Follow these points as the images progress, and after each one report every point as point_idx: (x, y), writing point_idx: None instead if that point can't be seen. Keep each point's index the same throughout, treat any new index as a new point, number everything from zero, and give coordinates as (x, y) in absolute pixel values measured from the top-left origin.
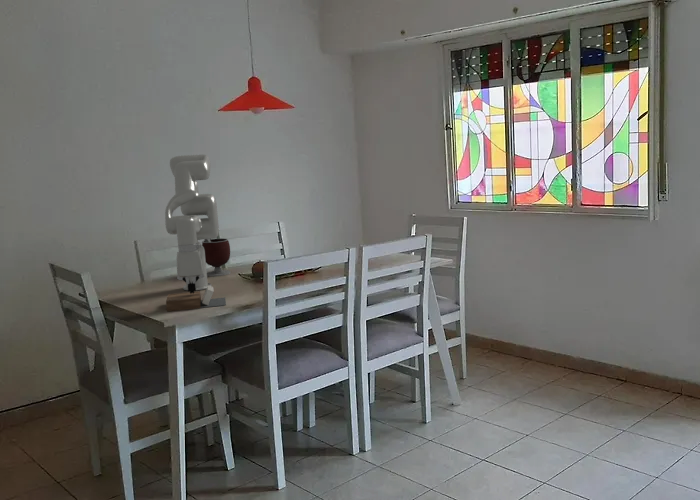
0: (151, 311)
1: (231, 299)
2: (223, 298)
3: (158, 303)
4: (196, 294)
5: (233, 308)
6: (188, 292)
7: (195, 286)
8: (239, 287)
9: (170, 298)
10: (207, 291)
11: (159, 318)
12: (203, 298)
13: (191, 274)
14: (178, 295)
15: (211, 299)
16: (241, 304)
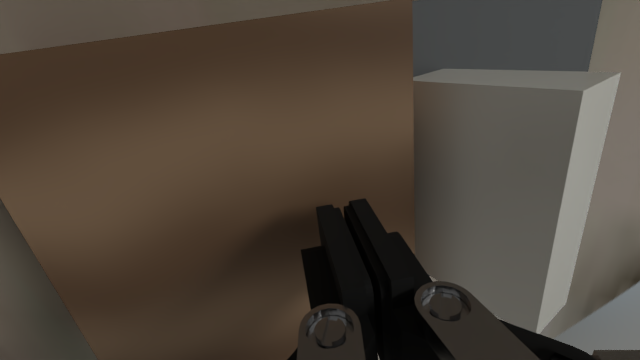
0: (4, 316)
1: (630, 56)
2: (582, 22)
3: None
4: (376, 191)
5: (570, 312)
6: (249, 36)
7: (414, 261)
8: None
9: (115, 313)
10: (515, 322)
11: None
12: (431, 223)
13: None
14: (157, 194)
15: (476, 30)
16: (636, 235)
